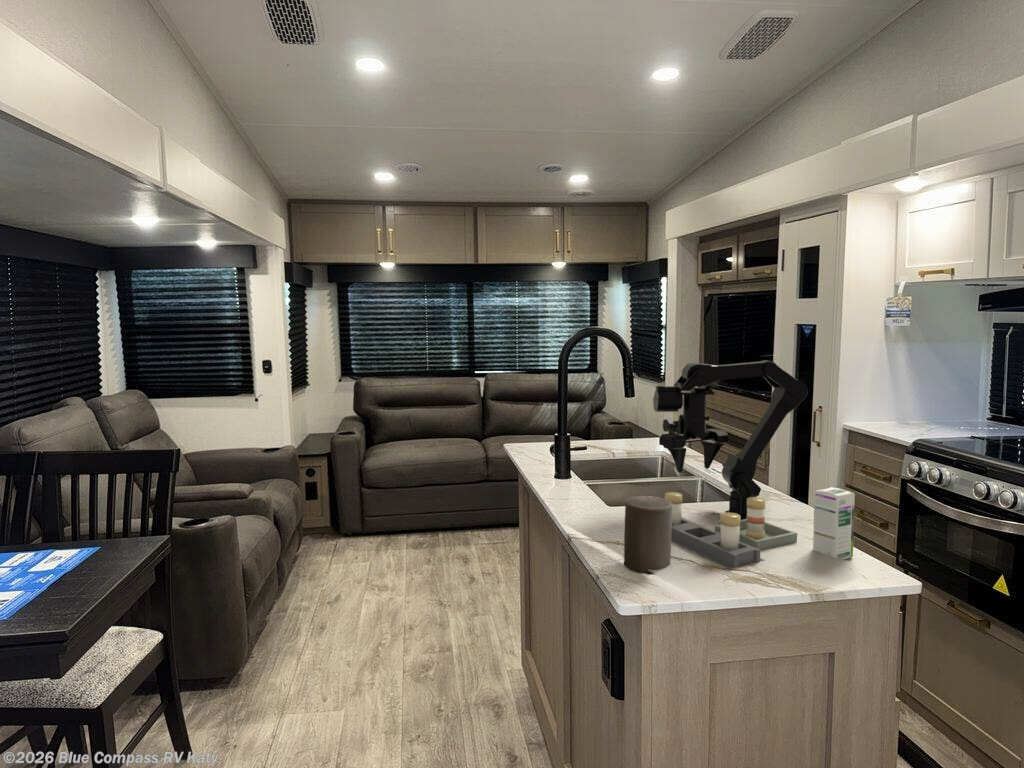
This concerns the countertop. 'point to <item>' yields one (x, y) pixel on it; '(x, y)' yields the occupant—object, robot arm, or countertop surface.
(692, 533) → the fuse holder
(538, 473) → the countertop surface
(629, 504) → the pillar candle
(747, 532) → the cylinder
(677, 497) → the cylinder
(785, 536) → the tray
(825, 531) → the syrup box
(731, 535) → the cylinder
